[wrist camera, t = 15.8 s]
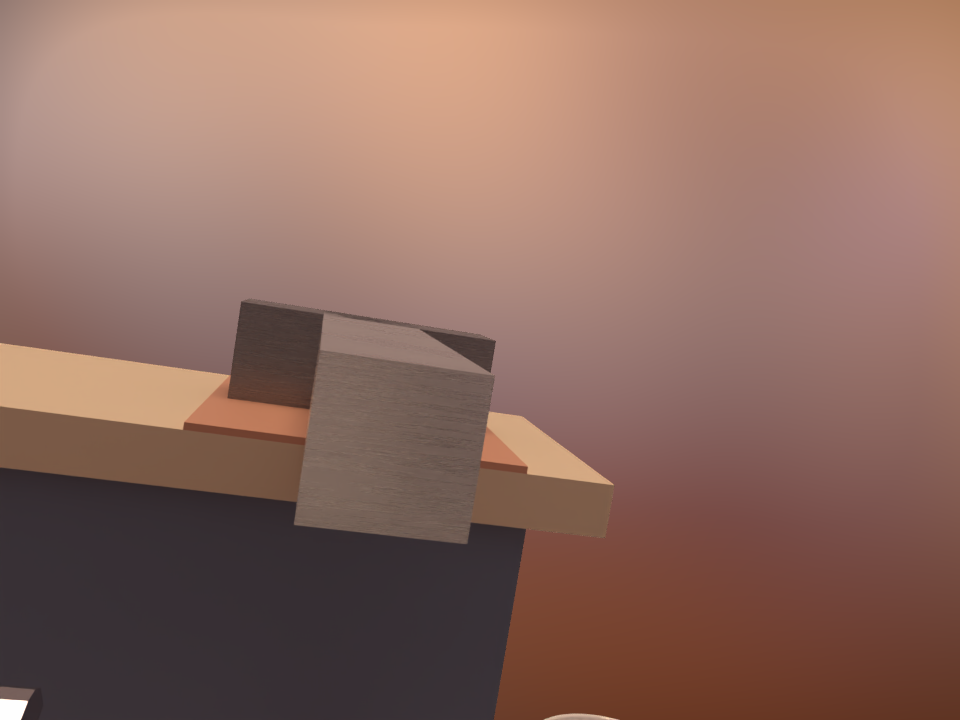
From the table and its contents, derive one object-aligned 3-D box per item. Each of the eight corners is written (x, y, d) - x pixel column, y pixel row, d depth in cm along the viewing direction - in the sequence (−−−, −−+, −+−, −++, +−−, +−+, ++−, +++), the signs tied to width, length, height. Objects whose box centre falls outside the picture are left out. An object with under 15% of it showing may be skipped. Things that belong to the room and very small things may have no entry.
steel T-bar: (139, 507, 15) (164, 327, 14) (236, 386, 30) (249, 298, 30) (602, 559, 16) (631, 396, 16) (466, 417, 32) (480, 334, 32)
